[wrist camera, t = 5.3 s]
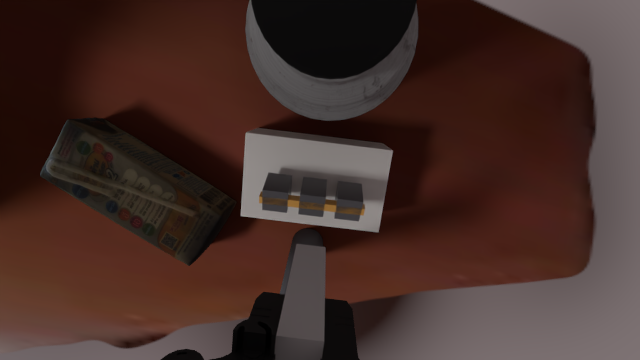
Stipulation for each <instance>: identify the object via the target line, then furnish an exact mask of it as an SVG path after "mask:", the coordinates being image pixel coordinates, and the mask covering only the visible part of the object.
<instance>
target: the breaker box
mask: <svg viewBox="0 0 640 360" xmlns="http://www.w3.org/2000/svg"><path fill="white" fill-rule="evenodd" d="M392 154H393V150H392V149H390V148H389V147H387V146H386V145H385V144H383V143H378V142H369V141H361V140H353V139H345V138H337V137H329V136H320V135H312V134H304V133H296V132H288V131H280V130H271V129H263V128H257V129H254V130H251V131H249V132H246V138H245V154H244V169H243V185H242V201H241V216H244V217H252V218H261V219H269V220H278V221H286V222H294V223H303V224H311V225H320V226H328V227H336V228H345V229H353V230H362V231H370V232H378V233H379V227H380V221H381V216H382V210H383V204H384V199H385V193H386V188H387V182H388V176H389V171H390V165H391V159H392ZM268 173H277V174H285V175H292V189H291V195H295V196H300V192H301V187H302V181H303V177H310V178H318V179H327V189H326V199H328V200H335V196H336V190H337V184H338V181H343V182H352V183H360V184H362V192H363V204H365V211H364V216H363V215H360V219H359V221H351V220H342V219H334V212H329V211H324V214H323V217H317V216H309V215H300V214H298V212H299V208H296V207H288V211H287V213H283V212H275V211H267V210H262V203H259V195H260V193H261V191H262V189H263V187H264V184H265V181H266V178H267V175H268Z"/></svg>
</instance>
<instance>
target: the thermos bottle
mask: <svg viewBox="0 0 640 360" xmlns="http://www.w3.org/2000/svg"><path fill="white" fill-rule="evenodd" d="M416 1H417V0H250V1H249V5H248V9H247V16H246V29H245V30H246V39H247V48H248V52H249V55H250V58H251V62H252V65H253V67H254V69H255V71H256V73H257V75H258V77H259V79H260V81H261V82H262V83H263V85H264V86H265V87H266V89H267V90H268V91H269V93H270V94H271V95H272V96H273V97H275V98H276V99H277V100H278V101H279V102H280V103H281V104H282V105H284V106H285V107H287V108H289V109H291V110H292V111H294V112H296V113H298V114H300V115H303V116H306V117H309V118H312V119H318V120H325V121H333V120H345V119H349V118H353V117H356V116H360V115H362V114H364V113H366V112H368V111H370V110H372V109H374V108H375V107H377V106H378V105H379V104H381V103H382V102H383V101H385V100H386V99H387V98H388V97H389V96H390V95H391V94H392V93H393V92H394V90H395V89H396V88H397V87H398V86H399V85H400V83H401V81H402V80H403V78H404V76H405V75H406V73H407V72H408V69H409V67H410V64H411V62H412V59H413V57H414V54H415V49H416V44H417V39H418V14H417V4H416Z"/></svg>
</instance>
